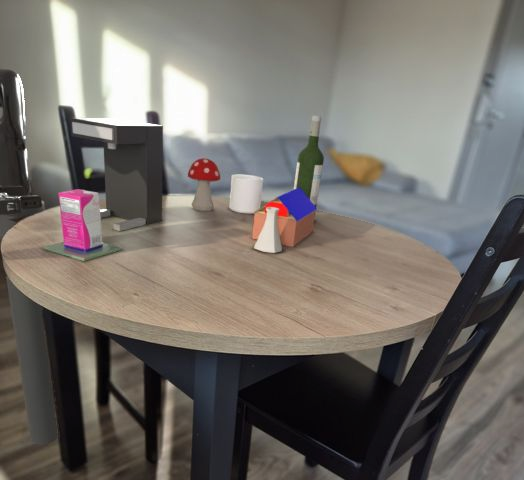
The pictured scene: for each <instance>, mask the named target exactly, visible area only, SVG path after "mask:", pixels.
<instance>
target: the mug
mask: <svg viewBox="0 0 524 480" xmlns="http://www.w3.org/2000/svg"><path fill="white" fill-rule="evenodd" d="M263 184H264V178H263V177H261V176H258V175H253V174H252V175H251V174H243V173H236V174H235V173H234V174H231V181H230V195H229V208H228V209H229V210H231V211H233V212H236V213H239V214H249V215H250V214H255V213H254V212H255V211H257V210H258V209H260V208H261V205H262V195H263Z"/></svg>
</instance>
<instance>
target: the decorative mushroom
mask: <svg viewBox="0 0 524 480" xmlns="http://www.w3.org/2000/svg"><path fill="white" fill-rule="evenodd" d="M187 177H188V178H189V179H191V180H194V181H197V186H196V188H195V193H194V198H193V200H192V201H191V207H192V209H193V210H196V211H203V212H211V211H213V209H214V206H215V205H214V201H213V199H212V198H213V197H212V190H211V182H212V183H213V182H218V181H221V173H220V170H219V167H218V166H217V164H216V162H214V161H213V160H211V159H209V158H207V157H206V158H205V157H203V158H202V157H201V158H198V159H196V160H195V161H194V162H192V164H191V165H190V168H189V170H188V172H187Z"/></svg>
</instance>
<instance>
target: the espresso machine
mask: <svg viewBox="0 0 524 480" xmlns="http://www.w3.org/2000/svg"><path fill="white" fill-rule="evenodd" d="M69 119H70V131H71V137H74V138H80V139H84V140H91V141H95V142H101V143H103V165H104V167H103V168H104V186H105V190H104V191H105V208H103V209H100V217H101V219H102V218H107V217H110V216H112V217H117V218H121V219H125V220H123V221H119V222H114V223H113V231H118V232H122V231H126V230H130V229H134V228H138V227H142V226H146V225H150V224H154V223H158V222H161V221H163V165H164V164H163V160H164V159H163V158H164V157H163V156H164V155H163V153H164V151H163V150H164V147H163V146H164V143H163V142H164V125H161V124H155V123H147V122H143V121H142V122H141V121H134V120H130V119H123V118H104V117H103V118H101V117H100V118H99V117H98V118H97V117H95V118H94V117H70V118H69Z"/></svg>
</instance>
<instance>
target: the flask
mask: <svg viewBox="0 0 524 480" xmlns="http://www.w3.org/2000/svg"><path fill="white" fill-rule="evenodd" d="M266 211H267V217H266V220H265V224H264V226H263V228H262V231H261V233H260V235H259V237H258V239H256V241H255V244H254V246H253V249H255V250H258V251H260V252H264V253H272V254H276V253H279V252H283V251H282V250H283V245H281V241H280V236H279V231H278V226H277V213H278V212H279V209H278V208H274V207H267V208H266Z"/></svg>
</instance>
